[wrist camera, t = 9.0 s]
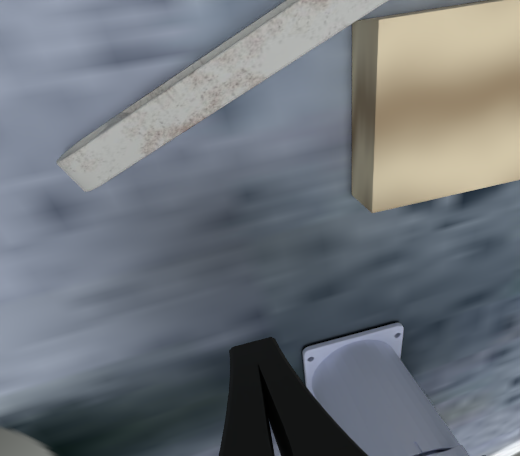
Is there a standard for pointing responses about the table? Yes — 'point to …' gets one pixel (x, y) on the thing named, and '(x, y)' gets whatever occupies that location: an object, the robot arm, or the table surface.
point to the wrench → (209, 86)
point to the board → (435, 103)
